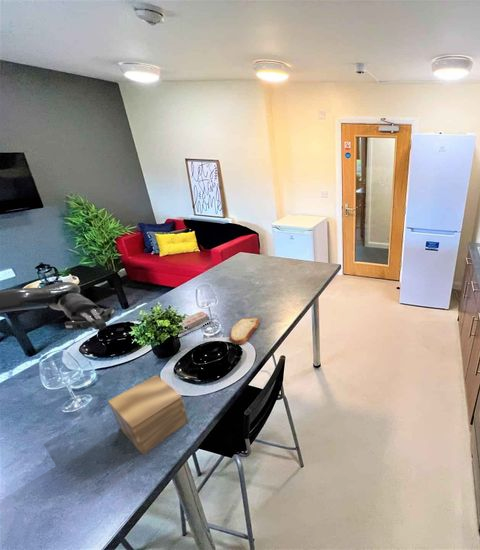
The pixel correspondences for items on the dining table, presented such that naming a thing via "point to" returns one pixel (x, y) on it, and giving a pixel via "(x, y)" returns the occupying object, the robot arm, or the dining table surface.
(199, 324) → the packaged product
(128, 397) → the candy box lid
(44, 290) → the robot arm
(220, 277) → the dining table surface
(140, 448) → the box
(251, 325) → the bread slice
